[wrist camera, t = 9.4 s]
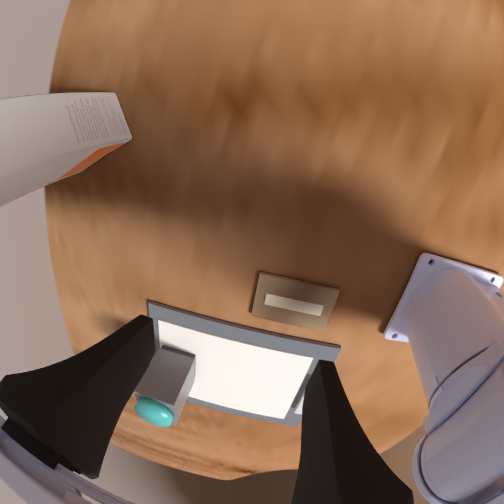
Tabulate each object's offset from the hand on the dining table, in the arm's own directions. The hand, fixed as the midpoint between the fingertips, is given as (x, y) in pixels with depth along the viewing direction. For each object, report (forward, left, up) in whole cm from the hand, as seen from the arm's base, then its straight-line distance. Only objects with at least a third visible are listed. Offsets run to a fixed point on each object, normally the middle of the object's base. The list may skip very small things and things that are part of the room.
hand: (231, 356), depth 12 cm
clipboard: (+1, +14, -10) cm, 17 cm away
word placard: (-3, +4, -10) cm, 11 cm away
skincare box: (+14, -7, -10) cm, 19 cm away
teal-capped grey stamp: (+6, +13, -9) cm, 17 cm away
